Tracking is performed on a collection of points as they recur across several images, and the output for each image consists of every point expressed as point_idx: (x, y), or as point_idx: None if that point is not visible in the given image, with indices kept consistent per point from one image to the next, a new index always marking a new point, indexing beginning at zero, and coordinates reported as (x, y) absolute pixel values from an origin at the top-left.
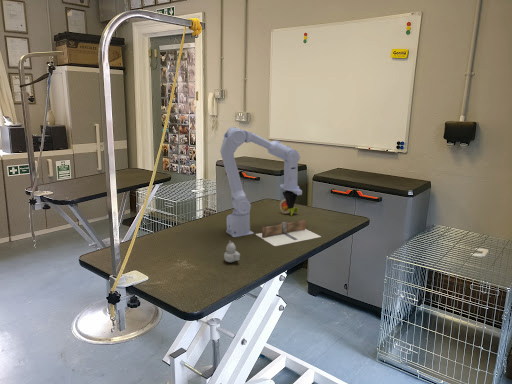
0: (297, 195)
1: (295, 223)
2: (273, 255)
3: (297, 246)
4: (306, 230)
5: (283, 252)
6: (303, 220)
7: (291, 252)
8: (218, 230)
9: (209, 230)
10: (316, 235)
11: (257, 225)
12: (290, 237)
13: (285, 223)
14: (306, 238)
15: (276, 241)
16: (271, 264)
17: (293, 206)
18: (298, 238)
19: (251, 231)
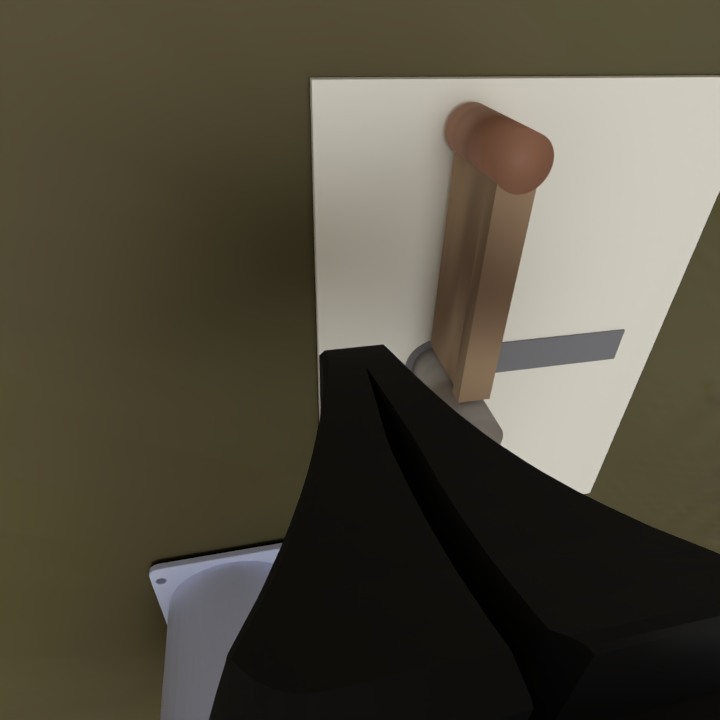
0: (670, 553)
1: (504, 299)
2: (657, 516)
3: (688, 374)
4: (511, 106)
5: (674, 470)
6: (531, 170)
7: (711, 437)
8: (112, 676)
9: (94, 706)
10: (704, 107)
11: (61, 475)
12: (554, 363)
13: (499, 434)
14: (669, 254)
15: (537, 465)
16: (712, 541)
17: (401, 365)
18: (613, 313)
19: (260, 553)
